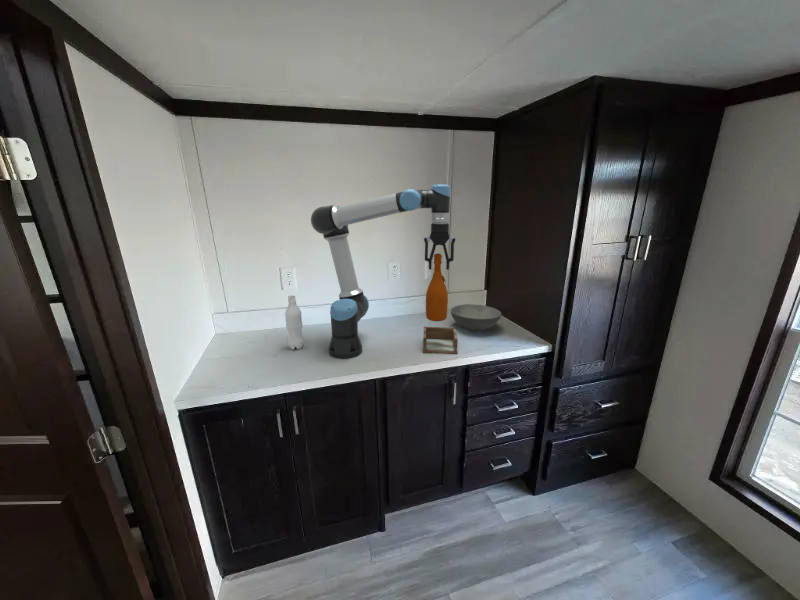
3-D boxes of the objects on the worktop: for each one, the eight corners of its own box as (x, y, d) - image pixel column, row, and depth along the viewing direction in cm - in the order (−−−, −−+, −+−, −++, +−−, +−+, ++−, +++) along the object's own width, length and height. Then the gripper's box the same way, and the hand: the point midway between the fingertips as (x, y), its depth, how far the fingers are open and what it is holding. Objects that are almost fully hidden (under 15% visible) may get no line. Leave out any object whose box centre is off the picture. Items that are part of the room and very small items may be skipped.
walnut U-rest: (457, 354, 155) (458, 340, 153) (422, 352, 157) (423, 339, 154) (454, 339, 171) (455, 327, 168) (423, 338, 172) (423, 325, 170)
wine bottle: (446, 323, 153) (448, 255, 144) (424, 321, 155) (425, 255, 146) (447, 315, 162) (450, 252, 153) (427, 314, 164) (428, 251, 155)
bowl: (440, 328, 185) (441, 310, 182) (465, 315, 204) (466, 299, 201) (485, 341, 168) (486, 322, 165) (507, 326, 188) (509, 309, 185)
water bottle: (299, 342, 166) (295, 293, 159) (307, 347, 161) (302, 296, 154) (285, 347, 161) (280, 296, 154) (293, 352, 157) (288, 299, 149)
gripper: (418, 223, 142) (417, 278, 149) (462, 223, 141) (459, 278, 148) (418, 222, 150) (418, 274, 157) (460, 222, 148) (458, 274, 155)
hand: (438, 276), depth 152 cm, fingers closed on wine bottle, 5 cm apart
